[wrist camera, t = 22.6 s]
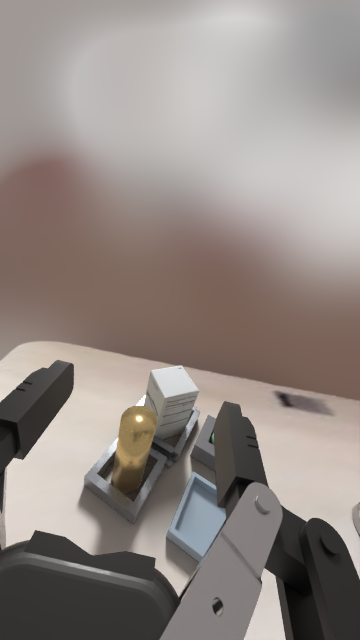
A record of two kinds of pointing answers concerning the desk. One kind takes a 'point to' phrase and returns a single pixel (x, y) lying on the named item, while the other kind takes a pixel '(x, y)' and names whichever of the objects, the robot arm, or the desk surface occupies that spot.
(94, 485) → the gray compartment tray
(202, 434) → the grey square socket block
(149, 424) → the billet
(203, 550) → the tote tray
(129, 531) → the desk surface
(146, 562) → the robot arm
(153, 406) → the supplement box
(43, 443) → the desk surface
